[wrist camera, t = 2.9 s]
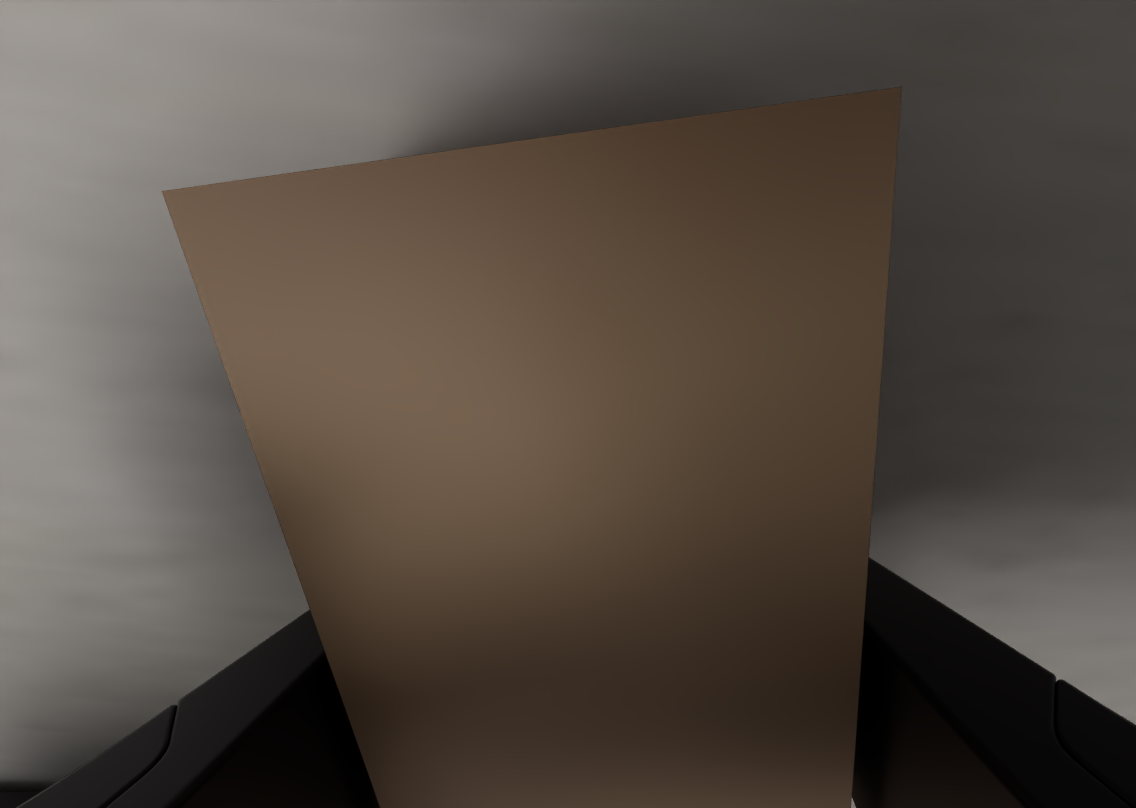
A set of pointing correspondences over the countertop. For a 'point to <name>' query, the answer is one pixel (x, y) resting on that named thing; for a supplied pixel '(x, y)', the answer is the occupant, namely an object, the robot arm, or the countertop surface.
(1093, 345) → the countertop surface
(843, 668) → the brown rectangular block
